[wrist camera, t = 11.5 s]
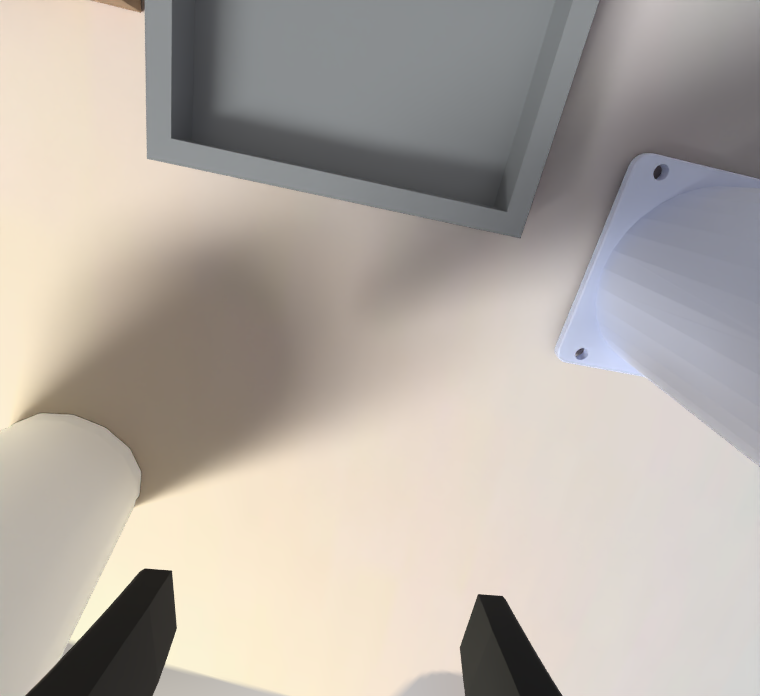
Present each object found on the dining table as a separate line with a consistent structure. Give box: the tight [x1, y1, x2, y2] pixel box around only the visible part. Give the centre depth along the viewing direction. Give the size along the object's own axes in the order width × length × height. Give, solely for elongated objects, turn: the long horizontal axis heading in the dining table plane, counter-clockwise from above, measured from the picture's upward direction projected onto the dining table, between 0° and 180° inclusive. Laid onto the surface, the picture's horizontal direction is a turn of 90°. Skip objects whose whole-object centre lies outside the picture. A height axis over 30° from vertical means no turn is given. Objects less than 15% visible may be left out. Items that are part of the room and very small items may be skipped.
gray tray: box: [145, 0, 599, 238], centre depth 12 cm, size 12×9×2 cm
